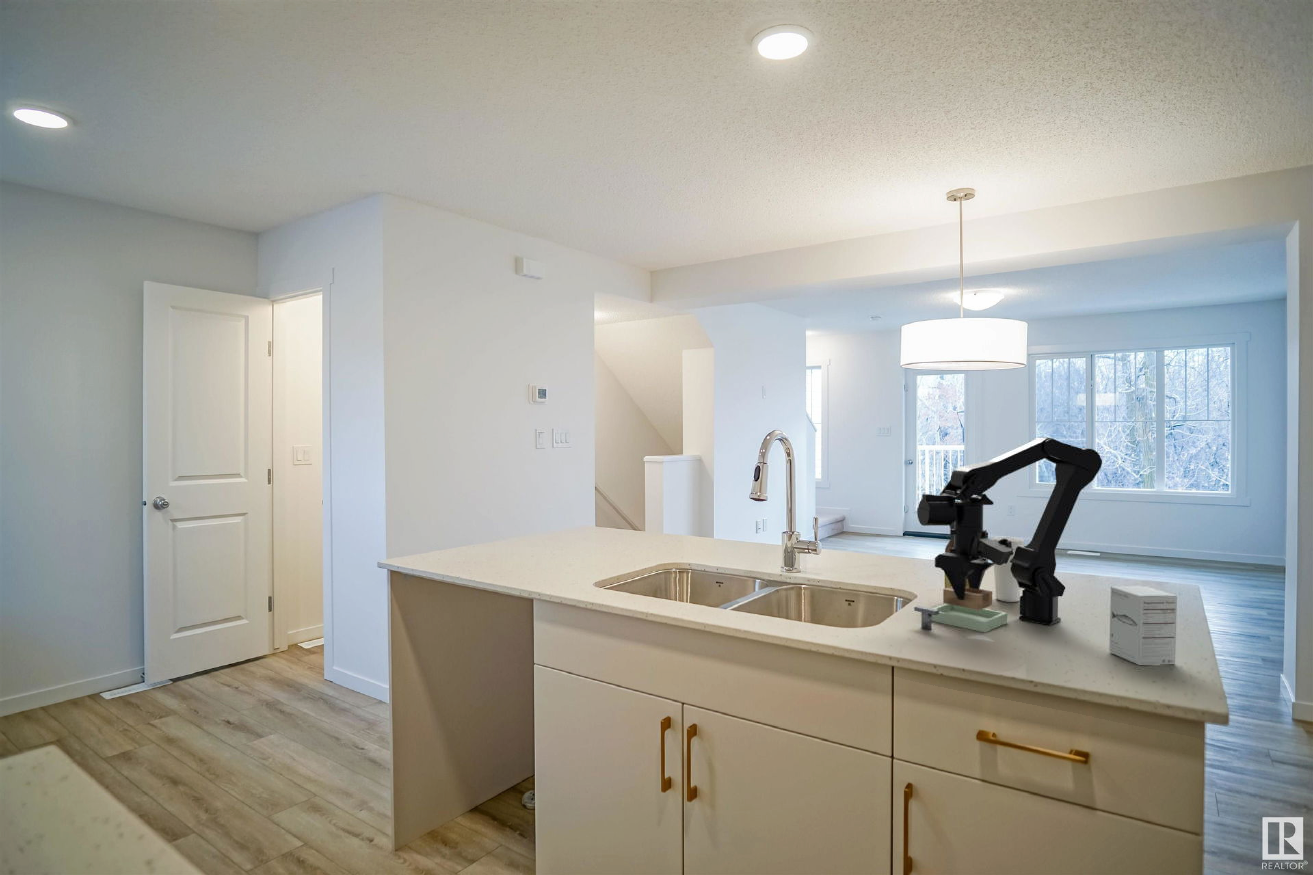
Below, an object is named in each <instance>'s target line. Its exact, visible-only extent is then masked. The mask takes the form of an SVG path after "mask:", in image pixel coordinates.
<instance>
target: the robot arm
mask: <svg viewBox="0 0 1313 875" xmlns="http://www.w3.org/2000/svg"><path fill="white" fill-rule="evenodd" d="M1042 460H1045V461H1048V462H1050V463H1053V464H1055V468H1054V475H1055V484H1054V487H1053V489H1052V492H1051V494H1050V496H1049V499H1048V501H1047V504H1046V506H1045V508H1044V511H1043V513H1042V515H1041V518H1040V520H1039V522H1038V525H1037V526H1036V529H1035V532H1034V533H1033V536H1032V539H1031V540H1030V542H1029V543H1028V544H1026V545H1024V547H1021V546H1017V548H1016V550H1015V554H1014V556H1013V558H1012V559H1011V560H1010V562H1011V563H1012V564H1011V572H1012V575H1013V577H1014V578H1015V579H1016V580H1017V583H1018V586H1019V587H1020V589H1022V591H1021V592H1022V593H1021V594H1022V595H1020V600H1019V616H1018V620H1022V621H1027V622H1032V623H1037V624H1043V625H1047V626H1052V625H1054V624H1056V623H1058V622H1060V621H1062V618H1061V617H1059V597H1063V596H1064V593H1065V590H1066V586H1065V585H1064V584H1063V583H1062V582H1061V581H1060V580H1059V579H1058V578H1057V577H1056V576H1055V574H1056V573H1055V572H1056V568H1057V560H1056V559H1057V558H1056V548H1057V547H1058V545H1059V541H1060V540H1061V538H1062V535H1063V533H1064V530H1065V528H1066V526H1067V523H1068V521H1069V519H1070V517H1071V514H1072V512H1073V509H1074V507H1075V505H1076V503H1077V500H1078V497H1079V496H1080V493H1081V492H1082V490H1084V489H1085V487H1087V486H1088V485H1089V484H1091V483H1092V482H1093V481H1094V479H1095V478H1096V476H1097V475H1098V474H1099V471H1100V470H1101V468H1102V465H1103V459H1102V457H1101V456H1100V453H1099V452H1098V451H1097V450H1095V449H1093V448H1085V447H1084V448H1083V447H1079V446H1074V445H1071V444H1067V443H1065V442H1061V441H1060V440H1057V439H1055V438H1053V437H1036V438H1034V439H1033V440H1032V441H1030V442H1028V443H1026V444H1023V445H1022V446H1019V447H1017V448H1015V449H1012V450H1009V451H1008V452H1005V453H1004V454H1000V455H999V456H996V457H994V458H992V459H990V460H987V461H984V462H983V461H982V462H975V463H970V464H967V465H966V464H965V465H962V466H960V467H956V468H955V469H953V471H952V472H951V475H950V479H949V481H948V482H947V483H946V484H945V487H944V488H943V489H942V491H941V492H940V493H939V494H932V493H931V494H930V493H922V494H921V500H920V501H919V503H918V507H917V508H916V509H917V511H916V514H917V519H918V521H919V523H920V525H921V526H923V527H924V526H926V527H927V526H928V527H929V526H930V527H932V526H934V527H937V526H938V527H939V526H940V527H941V526H942V527H943V526H949V525H951V524H952V522H954V529H951V530H950V529H949V531H950V532H949V534H953V535H954V548H950V553H947V552H946V553H945V552H944V553H943V552H942V553H939V554H938V555H936V556H935V557H934V567H935V568H939V569H940V570H941V571H943V572H944V575H945V574H946V576H947V578H948V580H949V582H950V584H951V586H952V588H953V590H954V592H955V594H956V596H957V598H958V599H959V600H963V599H964V595H965V589H966V582H967V580H968V584H969V587H971V588H977V589H981V588H980V587H981V585H982V581H983V578H984V575H985V573H986V571H987V570H989V569H990V568H992V567H994V564H996V565H1002V564H1004V563H1005V564H1006V563H1007V562H1008V560H1009V557H1010V556H1011V555H1013V548H1012V543H1011V541H1010V540H1008V539H1006V538H1004V539H1001V540H1000V541H998V542H997V541H996V540H993V539H991V538H989V532H987V530H985V529H984V506H994V503H995V502H994V501H993V500H992V499H990V498H989V497H988V496H987V494H986V493H985V492H987V491H988V490H989V489H991V488H993V487H994V486H995V485H996V484H997V482H998V481H999V480H1001V479H1002V478H1004V477H1005V476H1006V477H1007V476H1008V475H1011V474H1013V473H1015V472H1017V471H1019V470H1022V469H1024V468H1027V467H1028V466H1030V465H1033V464H1035V463H1038V462H1040V461H1042ZM989 561H990V562H989Z"/></svg>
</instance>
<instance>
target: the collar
mask: <svg viewBox="0 0 1313 875" xmlns="http://www.w3.org/2000/svg"><path fill="white" fill-rule="evenodd" d="M942 592H943V594H942V598H943V600H942V602H943V604H951V605H956V606H961V607H966V608H971V609H976V610H981V609H983V608H984V609H987V608H988V607H991V606H993V590H992V591H991V590H989V589H988V590H987V589H983V588H982V589H981V588H979V589H977V588H971V587H966V589H965V595H964V599H963V600H959V599H958V598H957V596H956V594H955V592H954V590H953V588H952V587H949V588H946V589H945V588H944V589H943V590H942Z"/></svg>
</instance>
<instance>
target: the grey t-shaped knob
mask: <svg viewBox="0 0 1313 875" xmlns="http://www.w3.org/2000/svg"><path fill="white" fill-rule="evenodd" d="M932 608H933V607H932ZM932 608H931V607H925V606H921V605H916V606H914V608H913V610H914V611H915V612H917V613H918V612H919V613H921V620H920V622H921V626H920V628H921V629H922V630H923V631H924V630H925V631H931V630H932V627H933V626H932V625H933V623H932V622H933V621H932V615H938V614H939V610H936V609H932Z"/></svg>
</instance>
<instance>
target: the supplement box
mask: <svg viewBox="0 0 1313 875" xmlns="http://www.w3.org/2000/svg"><path fill="white" fill-rule="evenodd" d="M1177 608H1178V596H1177V595H1176V594H1173V593H1168V592H1166V591H1163V590H1159V589H1156V588H1153V587H1148V586H1145V585H1124V586H1123V585H1122V586H1121V585H1117V586H1110V609H1109V610H1110V612H1109V645H1108V646H1109V647H1108V652H1109V653H1110V654H1114V655H1116V656H1118V657H1120V658H1123V659H1125V660H1127V661H1128V662H1132V663H1133V662H1134V663H1133V664H1135V663H1136V665H1137V664H1138V665H1137V666H1139V665H1151V666H1155V665H1154V664H1175V665H1176V650H1177V649H1176V644H1177V639H1176V638H1177V615H1178V614H1177V612H1178V609H1177Z"/></svg>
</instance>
